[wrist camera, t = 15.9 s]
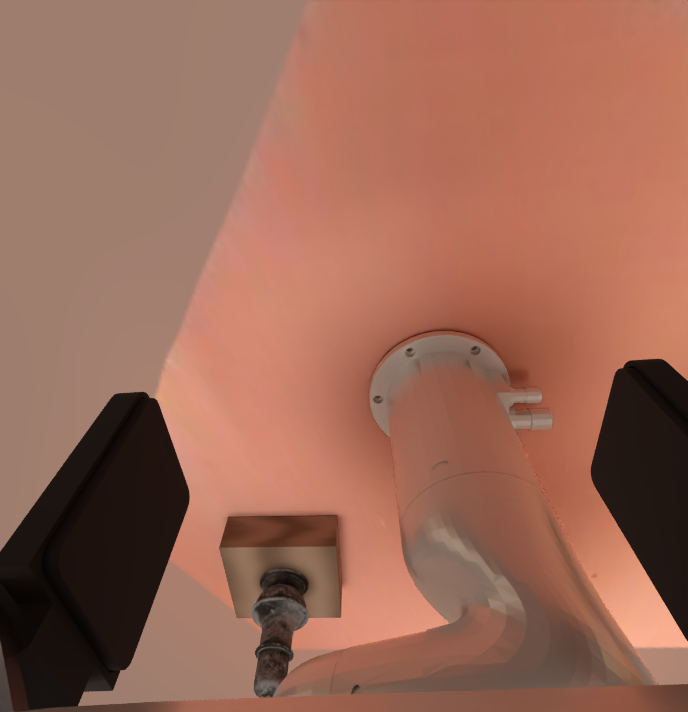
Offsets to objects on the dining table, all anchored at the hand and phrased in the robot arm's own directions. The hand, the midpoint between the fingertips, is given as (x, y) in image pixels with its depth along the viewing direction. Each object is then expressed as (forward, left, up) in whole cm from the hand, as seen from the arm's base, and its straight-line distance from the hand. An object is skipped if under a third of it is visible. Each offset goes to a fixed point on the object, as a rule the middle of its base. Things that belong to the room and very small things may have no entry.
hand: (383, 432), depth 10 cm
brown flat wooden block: (+9, +40, -29) cm, 50 cm away
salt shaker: (+9, +40, -25) cm, 48 cm away
